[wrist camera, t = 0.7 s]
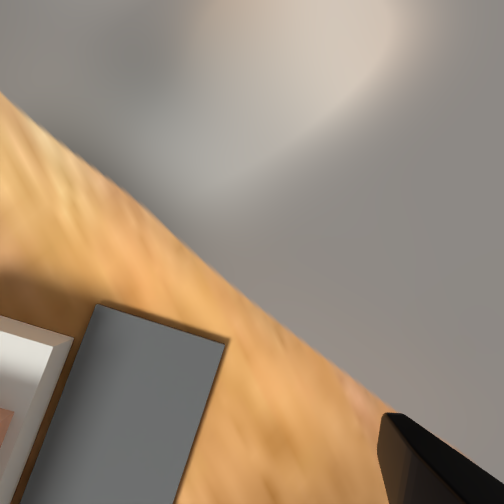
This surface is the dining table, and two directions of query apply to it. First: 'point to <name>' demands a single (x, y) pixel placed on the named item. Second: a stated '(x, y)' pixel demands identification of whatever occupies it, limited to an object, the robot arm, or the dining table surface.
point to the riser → (25, 391)
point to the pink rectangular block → (4, 422)
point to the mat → (125, 414)
